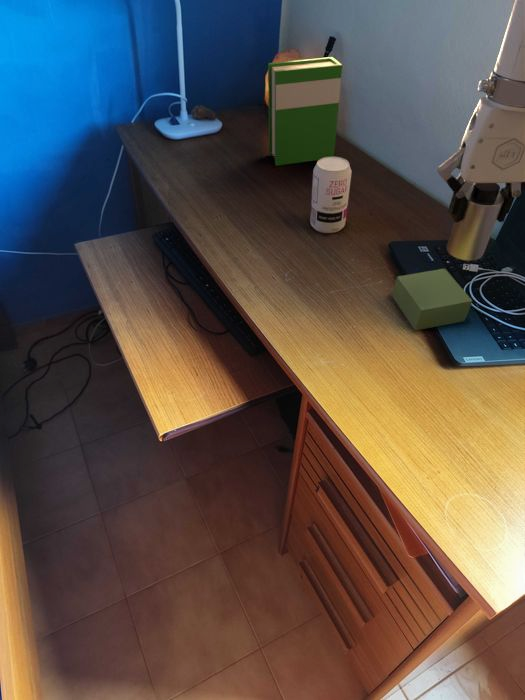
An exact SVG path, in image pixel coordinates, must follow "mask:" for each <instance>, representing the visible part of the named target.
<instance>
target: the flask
mask: <svg viewBox="0 0 525 700" xmlns="http://www.w3.org/2000/svg"><path fill="white" fill-rule="evenodd" d="M500 190H501V186H500V184H499V183H474V184H473V185H472V186H471V188H470V189H469V190H468V192H467V193H466V195H465V196H466V198H467V202H466V205H465V209H464V212H463V215H462V218H461V221H459V222H455V221H454V220H453V224H452V227H451V231H450V234H449V236H448V237H449V238H448V240H447V244H446V251H447V253H448V254H449V255H450V256H452V257H453V258H456V259H458V260H461V261H469V262H470V261H477V260H480V259H481V258H482V257H483V256H484V254H485V251H486V249H487V246H488V244H489V241H490V238H491V236H492V233H493V231H494V228H495V225H496V224H497V221H498V220H497V218H498V215H499V213H500V210H501V207H502V205H503V202H504V196H503V195H502V194H501V193H500Z"/></svg>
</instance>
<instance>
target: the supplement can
mask: <svg viewBox="0 0 525 700" xmlns="http://www.w3.org/2000/svg"><path fill="white" fill-rule="evenodd" d="M350 165H351V164H350V162H349V161H348V160H347V159H346V158H343V157H340V156H334V157H325V158H322V159H320V160H317V162H316V164H315V166H314V168H313V170H312V171H313V172H312V186H311V201H310V202H311V205H310V217H309V218H310V219H309V221H310V222H309V223H310V226H311V227H312V228H313V229H314V230H315V231H316V232H318V233H322V234H335V233H337V232H340V231H341V230H342V229H344V227H345V226H346V221H347V214H348V213H347V212H348V205H349V196H350V190H351V189H350V188H351V181H352V173H353V172H352V169H351V166H350Z"/></svg>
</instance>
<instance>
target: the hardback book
mask: <svg viewBox="0 0 525 700" xmlns="http://www.w3.org/2000/svg"><path fill="white" fill-rule="evenodd" d="M267 71H268V72H267V76H268V78H267V81H268V82H267V87H268V90H267V91H268V94H267V95H268V96H267V97H268V156H269V157H273V158H274V165H275V167H277V166H285V165H291V164H299V163H300V164H301V163H306V162H313V161H318V160H320V159H322V158H325V157H335V148H336V140H337V139H336V137H337V129H338V128H337V127H338V117H339V108H340V107H339V105H340V97H341V96H340V95H341V84H342V74H343V64H342V63H341V62H339V61H338V60H337V59H336V58H334V57H333V56H327V57H317V58H308V59H298V60H297V59H296V60H288V61H278V62H268V63H267ZM269 151H270V152H272V153H269ZM273 154H274V155H273ZM274 156H275V157H274Z"/></svg>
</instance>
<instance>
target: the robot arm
mask: <svg viewBox="0 0 525 700" xmlns="http://www.w3.org/2000/svg"><path fill="white" fill-rule="evenodd" d="M477 87H478V88H477V91H478V93H484V94H485V95H486V96H485V95H484V96H481V97H480V99H479V101H478V103H477V105H476V107H475V109H474V111H473V113H472V115H471V117H470V120H469V122H468V124H467V126H466V129H465V132H464V134H463V136H462V139H461V142H460V145H459V148H458V151H456V152H455V153H454V154H453V155H452V156H450V157H449V158H448V159H447V160H445V161H444V162H443V163H442V164H441V165H439V166H438V167H437V172H438V174H439V176H440V177H441V178H442V180H443V181H444V182H445V183H446V184H447V185H448V187H449V188H450V189H451V191H452V195H451V199H450V203H449V206H448V213H449V215H450V216H451V218H452V219H453V222H454V221H455V222H459V221H461V218H462V215H463V212H464V209H465V205H466V202H467V198H466V196H465V195H466V193H467V192H468V190H469V189H470V188H471V187H473V186H474V183H497V184H504V185H505V186H504V187H501V188H500V190H499V192H500V193H501V194H502V195H503V196H504V202H503V205H502V207H501V210H500V213H499V215H498V218H497V220H496V221H497V222H499V223H503V222H504V221H505V219H506V217H507V215H508V214H509V213H510V211H511V208H512V206H513V204H514V201H515V198H518V197H520V195H521V194H522V192H523V191H525V0H514V2H513V6H512V9H511V14H510V17H509V18H508V22H507V26H506V29H505V32H504V36H503V39H502V43H501V46H500V49H499V53H498V56H497V59H496V63H495V66H494V69H493V71H491V73H490V77H489V78H487V79H481V80H480V81H479V83H478V86H477ZM456 169H458V170H460V173H459V174H458V176H457V177H455V175H454V173H453V171H454V170H456Z"/></svg>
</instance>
